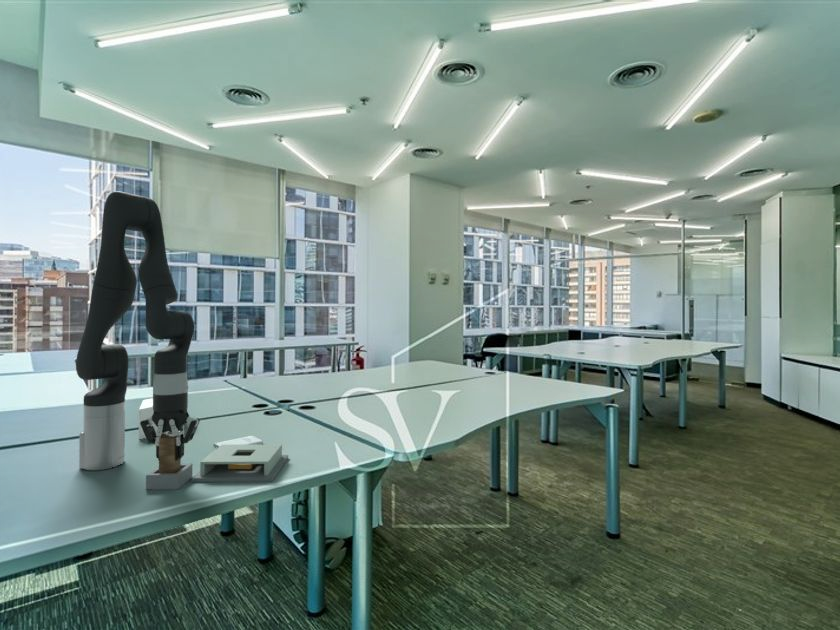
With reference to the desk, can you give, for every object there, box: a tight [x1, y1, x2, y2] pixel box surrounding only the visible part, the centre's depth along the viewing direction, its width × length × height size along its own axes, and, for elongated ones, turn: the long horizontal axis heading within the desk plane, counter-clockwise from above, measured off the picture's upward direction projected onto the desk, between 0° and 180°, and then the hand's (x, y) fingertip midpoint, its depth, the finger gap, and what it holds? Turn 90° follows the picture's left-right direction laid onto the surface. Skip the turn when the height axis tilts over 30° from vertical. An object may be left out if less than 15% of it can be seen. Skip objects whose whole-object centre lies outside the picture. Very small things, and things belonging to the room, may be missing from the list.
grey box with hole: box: [191, 443, 289, 483], centre depth 118 cm, size 20×17×5 cm
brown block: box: [158, 433, 182, 473], centre depth 108 cm, size 4×4×9 cm
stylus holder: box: [145, 463, 193, 490], centre depth 108 cm, size 8×8×4 cm
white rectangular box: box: [138, 397, 170, 440], centre depth 156 cm, size 14×29×10 cm, turn 2°
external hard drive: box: [213, 435, 264, 449], centre depth 138 cm, size 2×8×12 cm
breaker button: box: [228, 464, 255, 469], centre depth 118 cm, size 6×6×1 cm
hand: (170, 459), depth 108 cm, fingers closed on brown block, 3 cm apart
